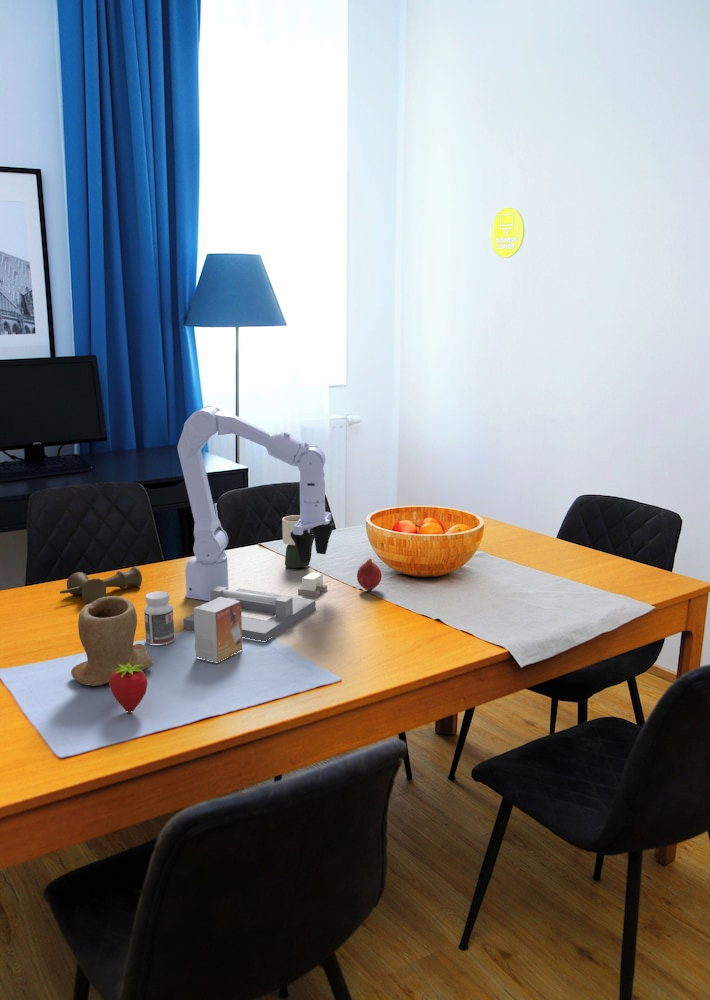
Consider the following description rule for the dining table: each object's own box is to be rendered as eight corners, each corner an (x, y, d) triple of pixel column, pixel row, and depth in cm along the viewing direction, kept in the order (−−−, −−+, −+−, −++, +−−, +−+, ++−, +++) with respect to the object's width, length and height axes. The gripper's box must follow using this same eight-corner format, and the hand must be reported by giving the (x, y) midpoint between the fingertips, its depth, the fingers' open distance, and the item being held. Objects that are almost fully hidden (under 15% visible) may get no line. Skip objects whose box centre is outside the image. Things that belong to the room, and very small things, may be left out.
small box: (217, 665, 170) (214, 612, 168) (194, 659, 173) (192, 607, 170) (243, 651, 177) (241, 600, 174) (221, 645, 179) (219, 595, 177)
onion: (379, 595, 208) (379, 562, 206) (354, 594, 209) (354, 561, 207) (383, 587, 214) (383, 555, 212) (359, 586, 215) (359, 554, 213)
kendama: (149, 592, 214) (69, 610, 200) (129, 584, 221) (51, 600, 207) (147, 568, 212) (68, 584, 199) (128, 560, 220) (49, 575, 206)
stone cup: (94, 698, 156) (88, 617, 153) (63, 678, 165) (57, 601, 161) (169, 673, 166) (165, 597, 163) (136, 655, 175) (132, 582, 171)
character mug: (320, 568, 229) (320, 519, 226) (298, 574, 224) (297, 524, 221) (295, 559, 237) (294, 512, 234) (273, 565, 233) (272, 516, 230)
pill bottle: (179, 637, 183) (177, 592, 181) (165, 648, 178) (162, 600, 176) (155, 634, 185) (152, 589, 183) (140, 644, 180) (137, 598, 178)
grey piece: (183, 628, 189) (182, 602, 188) (239, 596, 208) (238, 573, 207) (265, 642, 180) (264, 616, 179) (315, 608, 200) (315, 584, 199)
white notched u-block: (298, 593, 210) (297, 577, 209) (308, 587, 215) (308, 571, 214) (317, 596, 208) (316, 580, 207) (327, 590, 212) (326, 574, 212)
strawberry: (135, 699, 156) (131, 645, 153) (157, 714, 150) (153, 658, 148) (103, 710, 152) (99, 655, 149) (125, 725, 146) (121, 668, 144)
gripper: (312, 508, 194) (313, 568, 197) (342, 495, 207) (343, 551, 210) (284, 505, 197) (286, 564, 200) (315, 492, 210) (316, 548, 213)
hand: (313, 557), depth 205 cm, fingers open, 7 cm apart
